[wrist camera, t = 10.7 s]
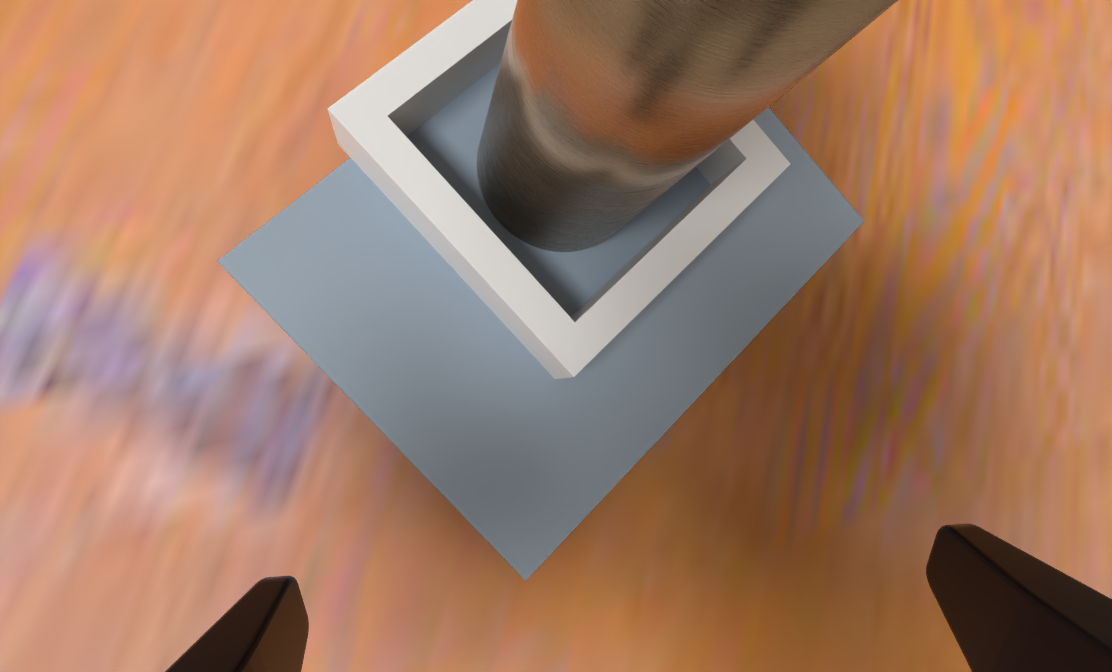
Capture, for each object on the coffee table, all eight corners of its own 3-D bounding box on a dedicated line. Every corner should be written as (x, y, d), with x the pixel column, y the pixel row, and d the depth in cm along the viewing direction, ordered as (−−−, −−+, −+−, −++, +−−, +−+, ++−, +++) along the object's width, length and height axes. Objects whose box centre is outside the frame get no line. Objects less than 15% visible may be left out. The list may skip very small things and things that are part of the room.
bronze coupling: (614, 295, 19) (1151, 18, 5) (431, 216, 18) (500, -387, 4) (674, 129, 20) (1255, -470, 6) (505, 46, 19) (753, -889, 5)
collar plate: (519, 571, 18) (541, 606, 15) (215, 255, 17) (172, 225, 14) (844, 228, 22) (915, 201, 19) (609, -50, 21) (643, -128, 18)
